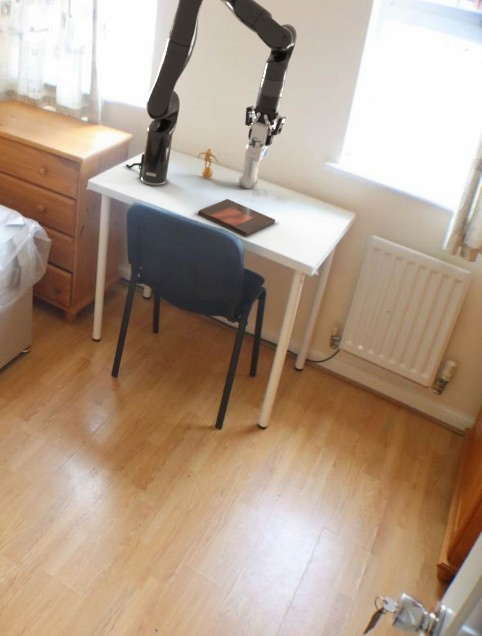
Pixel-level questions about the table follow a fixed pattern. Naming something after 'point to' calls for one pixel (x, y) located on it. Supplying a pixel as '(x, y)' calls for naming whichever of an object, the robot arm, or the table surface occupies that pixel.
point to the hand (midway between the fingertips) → (259, 142)
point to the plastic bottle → (249, 172)
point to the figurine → (206, 171)
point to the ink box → (257, 142)
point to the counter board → (236, 217)
